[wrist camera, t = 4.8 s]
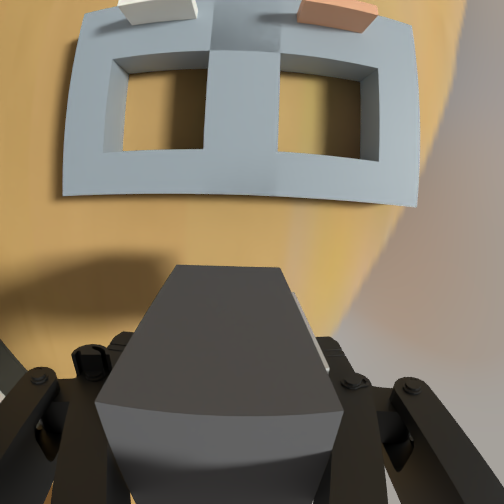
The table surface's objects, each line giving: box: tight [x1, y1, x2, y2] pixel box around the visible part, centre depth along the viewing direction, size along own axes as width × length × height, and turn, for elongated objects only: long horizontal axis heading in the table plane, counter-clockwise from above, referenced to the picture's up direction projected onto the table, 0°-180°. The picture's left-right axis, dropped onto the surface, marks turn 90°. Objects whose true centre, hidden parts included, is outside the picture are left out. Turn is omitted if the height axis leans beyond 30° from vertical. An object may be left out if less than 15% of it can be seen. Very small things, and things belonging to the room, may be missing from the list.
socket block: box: [63, 0, 420, 207], centre depth 17 cm, size 24×14×7 cm, turn 88°
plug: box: [94, 265, 344, 504], centre depth 11 cm, size 5×5×10 cm
